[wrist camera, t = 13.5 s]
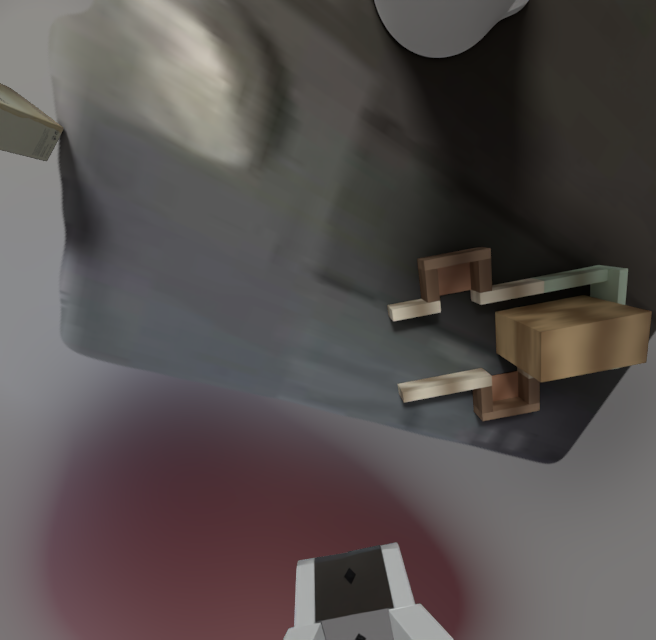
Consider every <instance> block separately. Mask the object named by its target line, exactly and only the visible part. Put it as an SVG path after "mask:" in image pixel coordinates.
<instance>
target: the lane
mask: <svg viewBox="0 0 656 640" xmlns="http://www.w3.org/2000/svg"><path fill="white" fill-rule="evenodd" d="M417 262H418V271H419V281H420V291H421V299H417V300H412V301H407V302H401V303H396V304H391V305H387V307H388V315H389V317H390V318H391V319H392V320H393V321H398V320H403V319H409V318H414V317H419V316H425V315H430V314H435V313H440V312H441V305H440V295H446V294H451V293H456V292H462V291H467V290H470V291H471V301H473V302H475V303H478V304H480V305H483V304H488V303H493V302H498V301H504V300H509V299H514V298H519V297H525V296H530V295H535V294H541V293H546V292H551V291H556V290H562V289H567V288H572V287H578V286H583V285H588V284H593V283H599V282H604V281H608V269H606V268H598V267H586V268H581V269H576V270H570V271H565V272H560V273H554V274H549V275H544V276H539V277H533V278H528V279H523V280H517V281H512V282H507V283H502V284H496V285H492V272H491V248H485V247H477V248H472V249H466V250H461V251H456V252H450V253H445V254H440V255H435V256H429V257H424V258H419V259H417ZM398 390H399V394H400V396H401V398H402V400H403V402H410V401H415V400H420V399H425V398H431V397H436V396H441V395H446V394H452V393H457V392H462V391H467V390H473V405H474V412H475V413H476V414H477V415H478V416H479V418H480V419H481V420H482V421H487V420H492V419H497V418H502V417H508V416H513V415H518V414H523V413H529V412H534V411H539V410H540V381H538V380H537V379H535V378H533V377H532V376H530V375H529V374H527V373H526V372H524V371H523V370H521V369H520V368H518V367H517V371H514V372H509V373H504V374H498V375H493V376H491V375H490V374H489V373H488V372H486V371H485V370H484V369H483V368H479V369H474V370H468V371H463V372H458V373H453V374H447V375H442V376H437V377H432V378H426V379H421V380H416V381H411V382H405V383H400V384H398Z"/></svg>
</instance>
